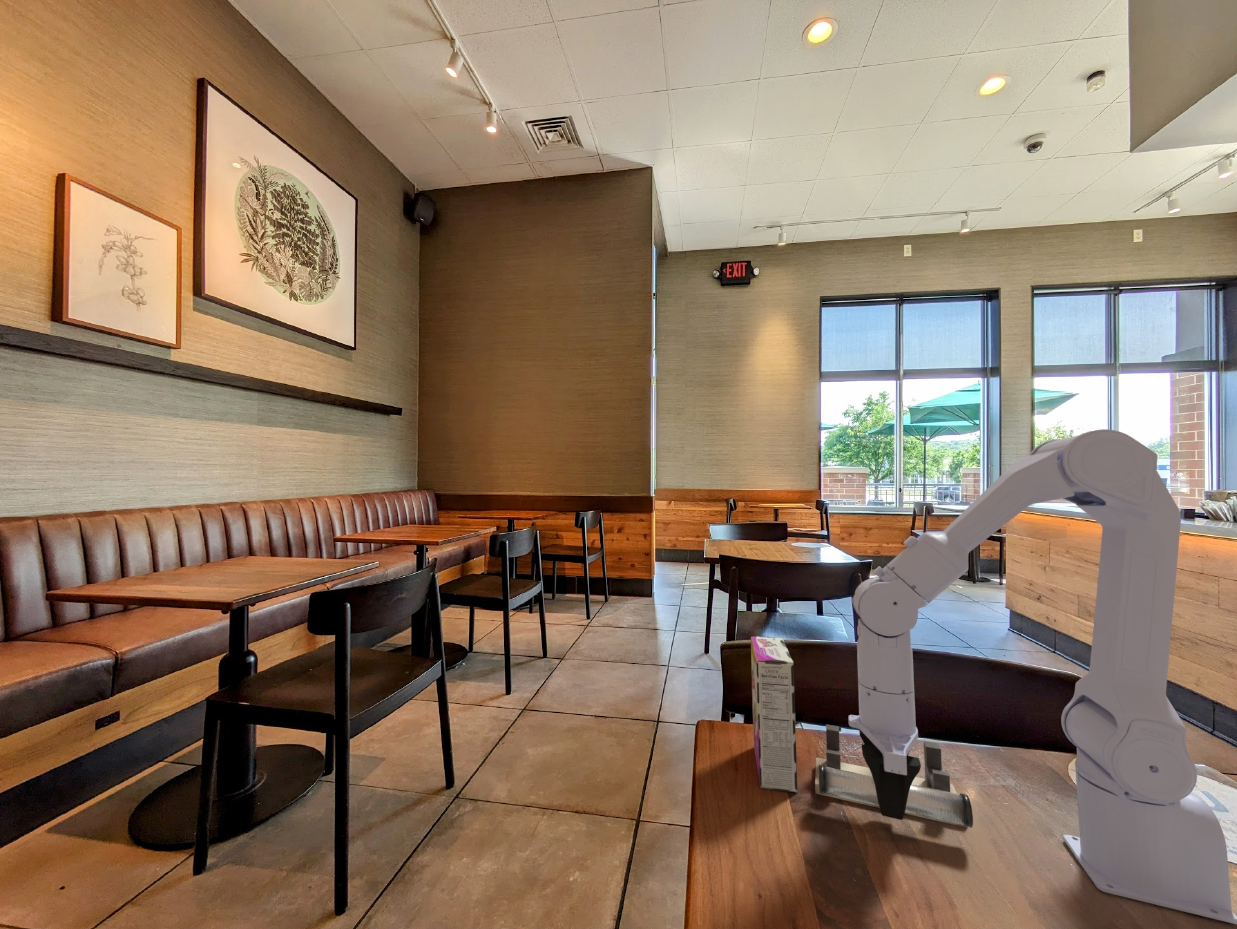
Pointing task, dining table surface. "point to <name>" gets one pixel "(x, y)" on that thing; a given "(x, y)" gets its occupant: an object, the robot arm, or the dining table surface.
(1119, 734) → the robot arm
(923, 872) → the dining table surface
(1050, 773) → the dining table surface
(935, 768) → the rack
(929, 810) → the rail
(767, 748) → the candy bar box
